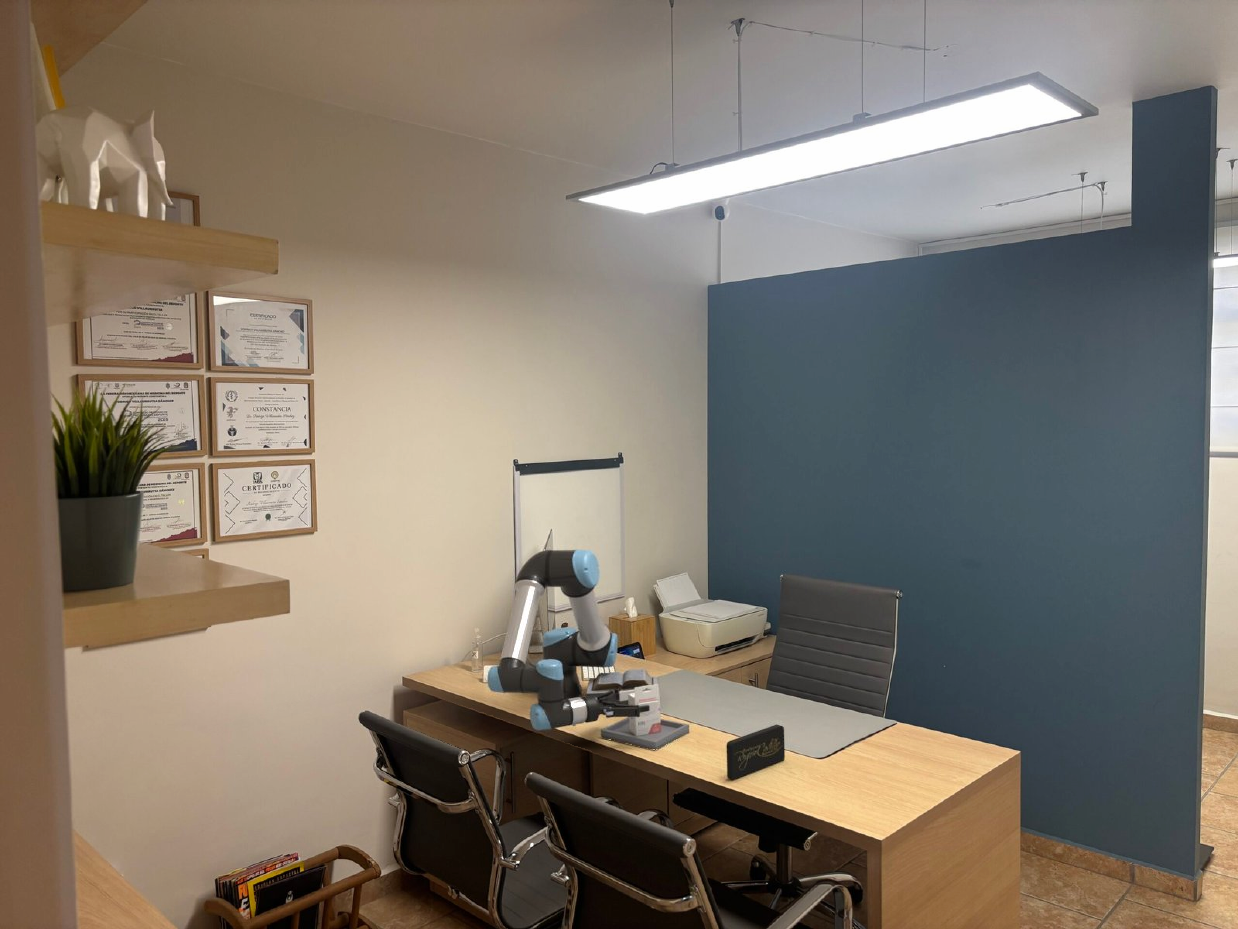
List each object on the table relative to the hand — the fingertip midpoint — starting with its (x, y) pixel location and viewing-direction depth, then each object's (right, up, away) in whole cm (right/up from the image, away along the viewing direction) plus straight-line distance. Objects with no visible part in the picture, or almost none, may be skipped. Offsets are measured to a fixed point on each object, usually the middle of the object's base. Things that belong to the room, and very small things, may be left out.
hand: (648, 699), depth 269 cm
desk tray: (-1, -11, 0) cm, 11 cm away
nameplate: (+28, -12, -29) cm, 42 cm away
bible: (-7, -10, +34) cm, 36 cm away
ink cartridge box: (-1, -10, 0) cm, 10 cm away
